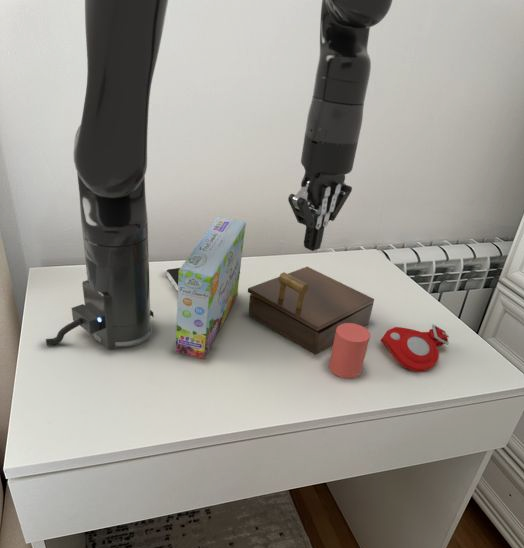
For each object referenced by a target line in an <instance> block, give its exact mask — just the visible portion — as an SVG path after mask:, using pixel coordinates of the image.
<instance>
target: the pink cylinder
mask: <svg viewBox="0 0 524 548" xmlns="http://www.w3.org/2000/svg"><path fill="white" fill-rule="evenodd" d="M370 338H371V332H370V331H369V329H367V328H366V327H365V326H361V325H358V324H354V323H344V324H341V325H339V326H338V327H337V329H336V333H335V338H334V343H333V345H332V346H331V347H332V348H331V352H330V358H329V363H328V368H329V371H330V372H331V374H333V375H334V376H337V377H339V378H342V379H355V378H357V377H359V376H360V375H361V373H362V369H363V365H364V361H365V359H366V358H365V357H366V354H367V350H368V346H369V342H370Z"/></svg>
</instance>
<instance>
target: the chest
mask: <svg viewBox="0 0 524 548" xmlns="http://www.w3.org/2000/svg"><path fill="white" fill-rule="evenodd" d="M248 305H249V306H248V316H249V317H250V318H251V319H253V320H255V321H257V322H259V323H261V324H262V325H263V326H265V327H267V328H269V329H270V330H272V331H274V332H276V333H277V334H278V335H280V336H282V337H284V338H286V339H288V340H289V341H291V342H293V343H294V344H296V345H298V346H299V347H301V348H303V349H304V350H305V351H307V352H309V353H311V354H313V355H314V356H317V355H318V354H321V353H322V352H323V351H325V350H327V349H329V348H330V347H333V343H334V338H335V333H336V329H337V327H338V326H339V325H341V324H344V323H354V324H358V325H361V326H363V327H365V326H366V325H368V324H369V323H370V319H371V315H372V312H373V307H374V303H372V304H370V305H368V306H366V307H364V308H362V309H360V310H358V311H356V312H354V313H352V314H350V315H348V316H346V317H344V318H342V319H340V320H338V321H336V322H334V323H332V324H330V325H329V326H327V327H325V328H323V329H321V330H319V331H316V330H314V329H313V328H311V327H309V326H307V325H306V324H304V323H302V322H300V321H298V320H297V319H295V318H293V317H291V316H289V315H288V314H286V313H284V312H282V311H281V310H279V309H277V308H275V307H273V306H272V305H270V304H268V303H266V302H264V301H263V300H261V299H259V298H257V297H256V296H254V295H252V294H249V304H248Z"/></svg>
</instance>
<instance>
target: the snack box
mask: <svg viewBox="0 0 524 548" xmlns="http://www.w3.org/2000/svg"><path fill="white" fill-rule="evenodd" d="M246 224H247V222H246V221H243V220H242V221H241V220H237V219H231V218H227V217H222V216H218V217H216V219H215V220H214V222H213V223H212V224H211V226H210V227H209V229H208V230H207V231H206V232H205V234H204V236H203V237H202V238H201V239H200V241H199V242H198V244H197V245H196V246H195V247H194V249H193V250H192V252H191V253H190V254H189V256H188V257H187V258H186V259H185V261H184V262H183V263H182V265H181V267H179V268H180V269H179V277H178V291H177V304H176V306H177V307H176V325H175V327H176V328H175V329H176V331H175V349H174V350H175V351H174V352H175V353H179V354H182V355H186V356H190V357H194V358H198V359H202V360H205V359H206V357H207V355H208V354H209V352H210V350H211V348H212V346H213V344H214V342H215V340H216V338H217V336H218V334H219V332H220V330H221V328H222V326H223V325H224V322H225V320H226V318H227V316H228V315H229V313H230V311H231V309H232V307H233V305H234V303H235V302H236V299H237V298H238V295H239V284H240V275H241V267H242V258H243V257H242V256H243V249H244V240H245V233H246V226H247V225H246Z"/></svg>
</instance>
